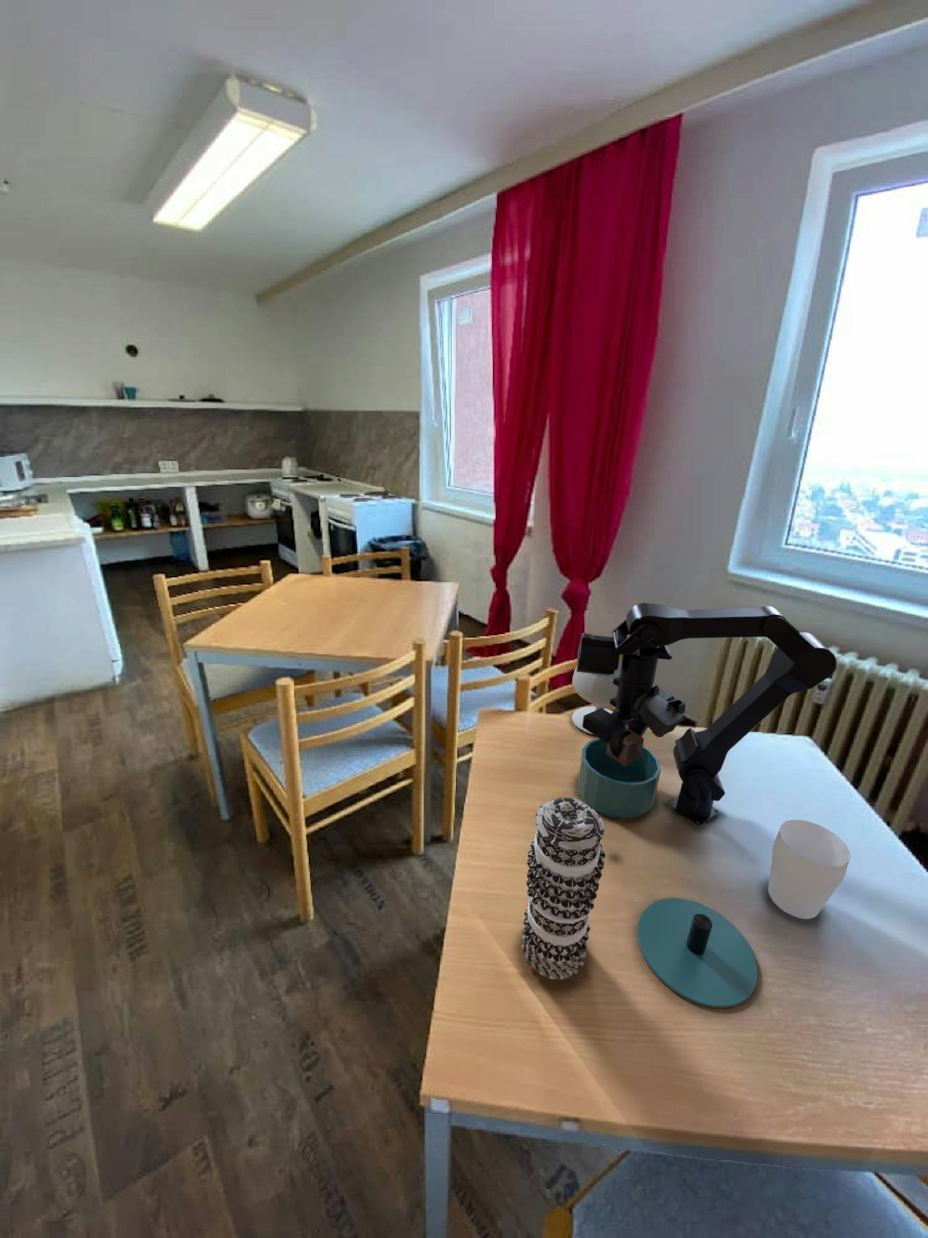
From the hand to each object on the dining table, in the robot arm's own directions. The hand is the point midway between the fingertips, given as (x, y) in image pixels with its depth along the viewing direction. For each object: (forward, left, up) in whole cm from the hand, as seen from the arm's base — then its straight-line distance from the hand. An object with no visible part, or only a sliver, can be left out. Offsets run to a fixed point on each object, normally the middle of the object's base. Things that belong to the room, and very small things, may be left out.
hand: (624, 751), depth 95 cm
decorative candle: (+31, +17, -11) cm, 37 cm away
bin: (-1, -1, -11) cm, 11 cm away
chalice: (-16, -20, -11) cm, 28 cm away
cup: (-6, +30, -11) cm, 32 cm away
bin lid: (+14, +27, -10) cm, 32 cm away
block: (0, 0, -1) cm, 1 cm away
